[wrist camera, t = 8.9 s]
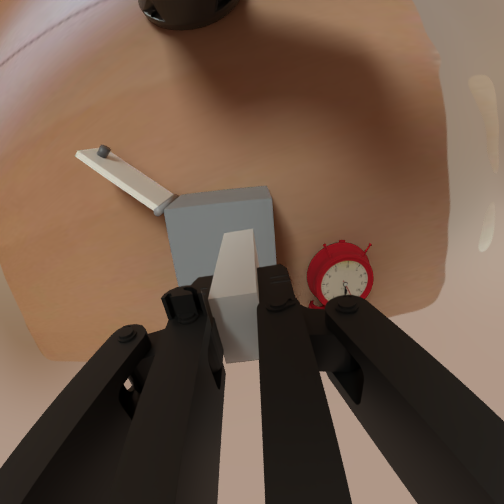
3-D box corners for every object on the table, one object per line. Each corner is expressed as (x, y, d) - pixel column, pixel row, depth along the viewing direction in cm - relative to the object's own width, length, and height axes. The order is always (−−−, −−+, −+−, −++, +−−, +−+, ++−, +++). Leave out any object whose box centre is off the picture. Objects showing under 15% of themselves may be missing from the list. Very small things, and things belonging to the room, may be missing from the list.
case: (180, 194, 39) (160, 212, 30) (266, 185, 39) (272, 200, 29) (202, 315, 46) (193, 355, 37) (275, 309, 46) (281, 349, 37)
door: (184, 190, 38) (168, 202, 31) (176, 202, 39) (159, 217, 31) (109, 140, 35) (79, 142, 27) (102, 152, 36) (72, 157, 28)
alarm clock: (382, 242, 38) (373, 337, 41) (366, 237, 45) (360, 322, 47) (314, 243, 38) (310, 343, 41) (305, 238, 44) (303, 327, 47)
